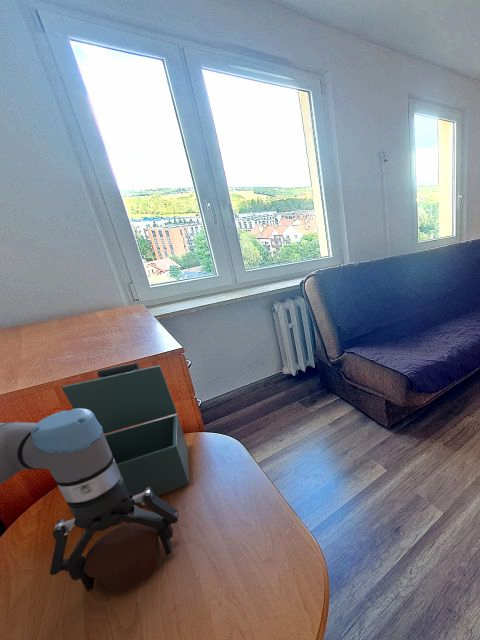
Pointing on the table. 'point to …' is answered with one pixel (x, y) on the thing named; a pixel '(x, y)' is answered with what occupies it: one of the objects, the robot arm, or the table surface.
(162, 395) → the lid
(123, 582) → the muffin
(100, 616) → the table surface
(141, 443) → the chest
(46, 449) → the robot arm
